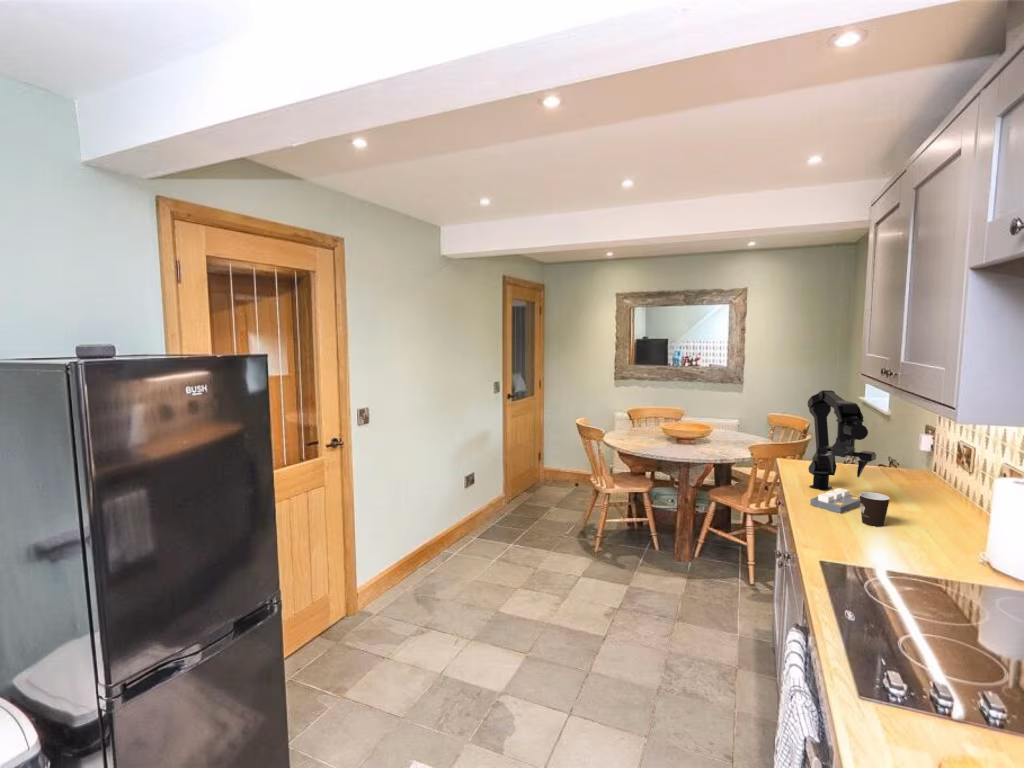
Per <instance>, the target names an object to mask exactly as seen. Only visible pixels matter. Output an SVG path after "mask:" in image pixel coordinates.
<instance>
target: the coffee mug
mask: <svg viewBox="0 0 1024 768" xmlns="http://www.w3.org/2000/svg"><path fill="white" fill-rule="evenodd" d="M859 497H860V504H861V506H860V513H861V514H860V515H861V522H862V524H864V525H866V526H870V527H873V526H875V527H874V528H882V526H883V527H884V526H885V522H886V518H887V514H888V508H889V503H890V499H891V498H890V496H888V495H886V494H883V493H880V492H879V493H877V492H870V491H863V492H859Z"/></svg>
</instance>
